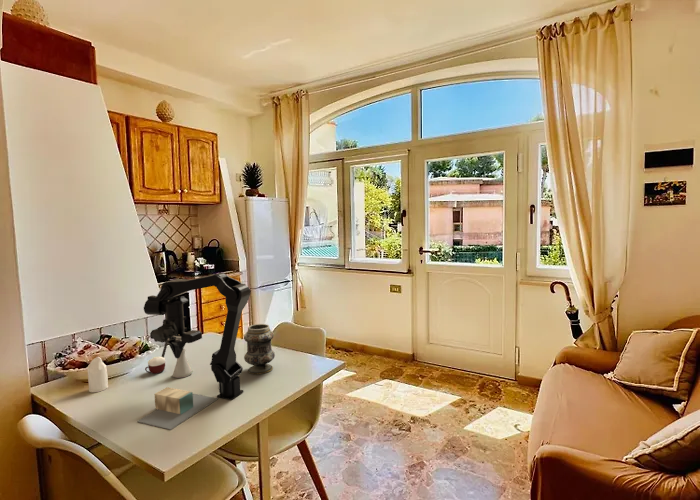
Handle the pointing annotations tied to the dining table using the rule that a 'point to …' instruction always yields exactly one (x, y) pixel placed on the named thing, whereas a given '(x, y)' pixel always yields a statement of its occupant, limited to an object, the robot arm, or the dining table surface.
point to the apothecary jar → (259, 348)
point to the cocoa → (157, 363)
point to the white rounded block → (97, 375)
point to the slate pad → (173, 419)
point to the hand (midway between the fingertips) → (177, 358)
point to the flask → (182, 366)
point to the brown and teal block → (174, 400)
